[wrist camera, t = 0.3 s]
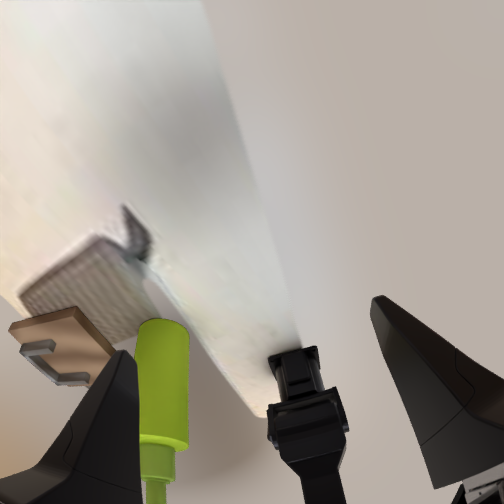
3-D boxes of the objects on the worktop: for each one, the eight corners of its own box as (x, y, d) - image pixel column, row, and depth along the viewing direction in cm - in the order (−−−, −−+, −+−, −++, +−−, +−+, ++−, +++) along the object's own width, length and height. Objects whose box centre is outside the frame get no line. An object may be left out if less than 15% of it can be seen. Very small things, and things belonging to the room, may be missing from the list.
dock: (138, 372, 35) (136, 391, 33) (70, 378, 36) (66, 394, 34) (76, 306, 27) (68, 326, 25) (11, 322, 28) (4, 339, 25)
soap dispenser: (133, 346, 32) (118, 507, 16) (144, 312, 28) (124, 507, 12) (178, 358, 34) (179, 515, 18) (196, 326, 30) (201, 515, 14)
